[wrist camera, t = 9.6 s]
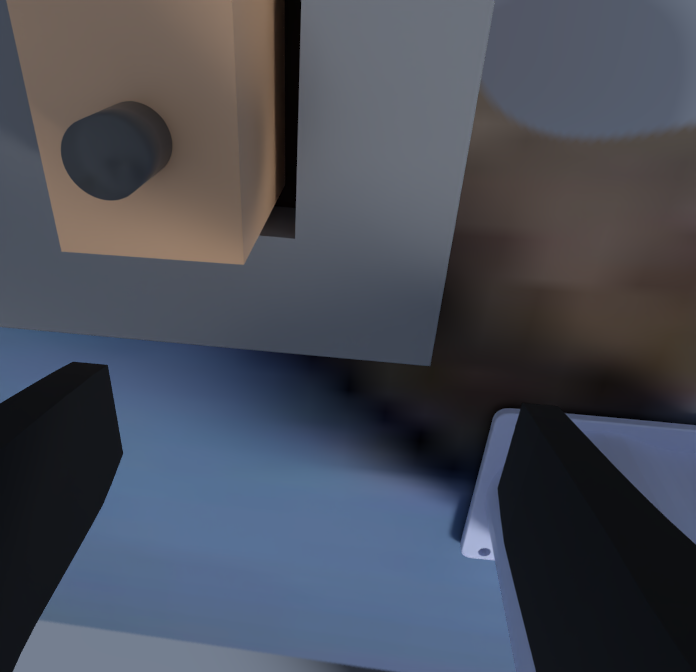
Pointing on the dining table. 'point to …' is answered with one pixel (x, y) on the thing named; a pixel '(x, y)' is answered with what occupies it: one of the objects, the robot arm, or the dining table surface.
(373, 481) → the dining table surface
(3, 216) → the socket
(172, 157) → the plug
